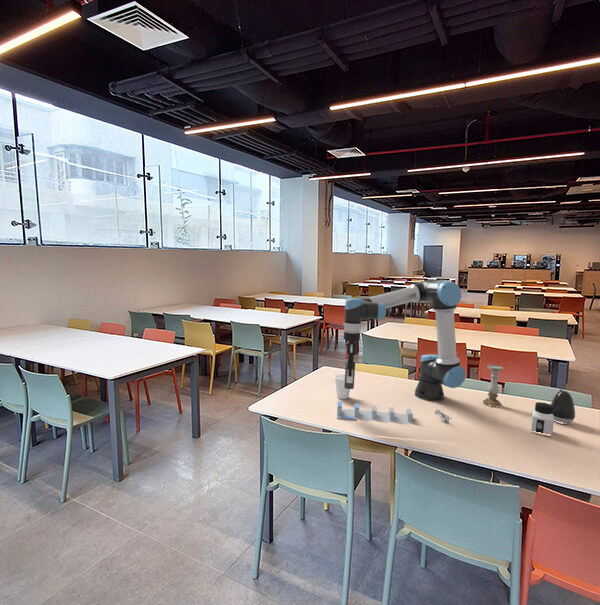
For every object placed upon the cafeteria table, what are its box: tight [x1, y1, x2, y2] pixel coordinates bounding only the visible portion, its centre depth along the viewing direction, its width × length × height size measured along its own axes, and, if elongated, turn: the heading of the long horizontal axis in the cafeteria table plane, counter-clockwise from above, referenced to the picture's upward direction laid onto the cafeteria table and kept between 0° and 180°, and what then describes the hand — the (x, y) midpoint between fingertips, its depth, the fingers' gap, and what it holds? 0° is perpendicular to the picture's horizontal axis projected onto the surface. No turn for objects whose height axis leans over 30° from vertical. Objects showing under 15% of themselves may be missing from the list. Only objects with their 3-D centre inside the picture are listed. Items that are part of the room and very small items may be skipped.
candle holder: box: [482, 364, 505, 407], centre depth 199 cm, size 9×9×20 cm
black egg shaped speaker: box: [550, 389, 576, 424], centre depth 179 cm, size 10×10×15 cm
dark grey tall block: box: [344, 360, 356, 390], centre depth 177 cm, size 4×4×12 cm
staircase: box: [434, 409, 453, 425], centre depth 174 cm, size 6×4×6 cm, turn 24°
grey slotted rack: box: [336, 401, 414, 425], centre depth 178 cm, size 34×11×5 cm, turn 82°
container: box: [530, 401, 555, 436], centre depth 168 cm, size 8×8×13 cm
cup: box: [334, 374, 351, 400], centre depth 202 cm, size 10×10×11 cm
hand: (349, 380), depth 178 cm, fingers closed on dark grey tall block, 4 cm apart
